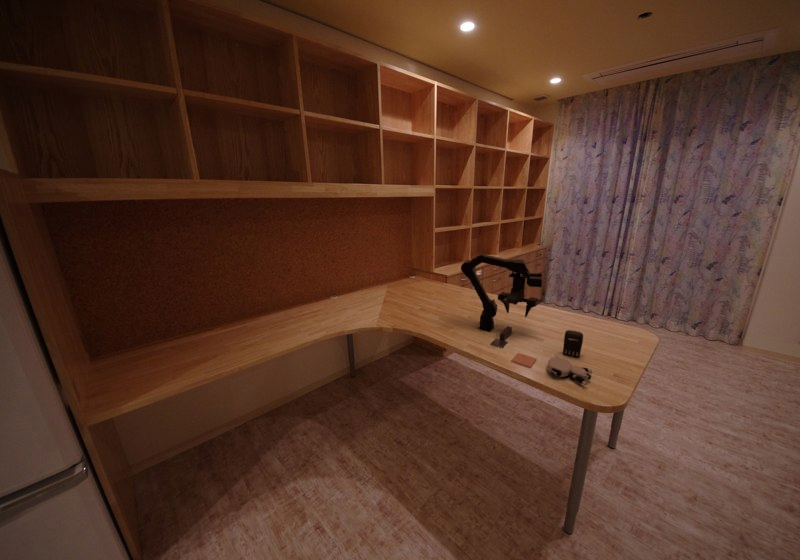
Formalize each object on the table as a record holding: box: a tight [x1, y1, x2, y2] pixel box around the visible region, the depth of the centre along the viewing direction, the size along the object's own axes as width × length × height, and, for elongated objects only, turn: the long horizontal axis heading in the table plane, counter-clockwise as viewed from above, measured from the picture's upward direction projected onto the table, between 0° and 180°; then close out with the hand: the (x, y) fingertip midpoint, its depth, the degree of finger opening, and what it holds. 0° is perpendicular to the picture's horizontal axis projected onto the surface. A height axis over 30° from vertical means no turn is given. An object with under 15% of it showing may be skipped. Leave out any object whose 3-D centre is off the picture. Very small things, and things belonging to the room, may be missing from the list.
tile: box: [510, 352, 538, 369], centre depth 125 cm, size 8×1×8 cm
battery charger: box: [562, 329, 584, 359], centre depth 127 cm, size 7×4×11 cm, turn 57°
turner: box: [489, 325, 513, 350], centre depth 143 cm, size 6×17×4 cm, turn 140°
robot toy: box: [545, 354, 594, 386], centre depth 114 cm, size 12×4×15 cm
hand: (516, 314), depth 148 cm, fingers open, 9 cm apart
